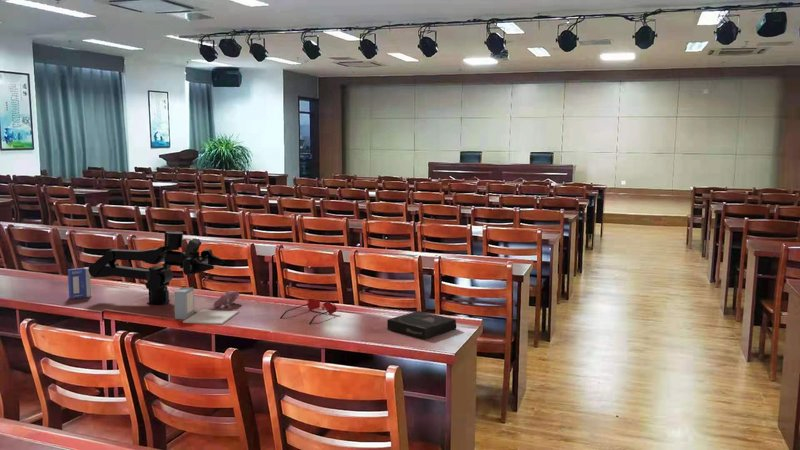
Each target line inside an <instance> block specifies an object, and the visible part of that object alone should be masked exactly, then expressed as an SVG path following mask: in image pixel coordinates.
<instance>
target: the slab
mask: <svg viewBox="0 0 800 450" xmlns="http://www.w3.org/2000/svg"><path fill="white" fill-rule="evenodd" d="M194 289H195V288H194V287H190V286H187V287H186V286H185V287H179V288H177V289H176V290H174V292H173V294H174V297H173V298H174V319H175V320H186V319H188V318H189V317H190V316H193V315H194V314H195V292H194V291H195V290H194Z"/></svg>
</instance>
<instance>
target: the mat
mask: <svg viewBox="0 0 800 450" xmlns="http://www.w3.org/2000/svg"><path fill="white" fill-rule="evenodd" d="M238 313H239V311H238V310H235V311H234V310H212V309H211V310H210V309H200V311H199V310H198V312H196V313H194V315H192V316H191V317H189V318H187V319H183V321H182V323H183V324H201V325H202V324H203V325H204V324H205V325H223V324H224V323H226V322H227V321H229V320H230V319H232V318H234V316H236V315H237V314H238Z"/></svg>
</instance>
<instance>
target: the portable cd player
mask: <svg viewBox="0 0 800 450" xmlns="http://www.w3.org/2000/svg"><path fill="white" fill-rule="evenodd" d="M386 320H387V322H386V324H387V327H386V328H387V329H386V330H387V331H390V332H394V333H398V334H401V335H405V336H409V337H413V338H416V339H421V340H423V341H425V340H426V341H427V340H429V339H431V338H435V337H437V336H441V335H443V334H446V333H449V332H453V331H456V330H457V321H456V319H455V318H452V317H447V316H442V315H438V314H434V313H429V312H424V311H421V310H417V311H415V312H414V311H413V312H409V313H405V314H403V315H399V316H395V317H392V318H388V319H386Z"/></svg>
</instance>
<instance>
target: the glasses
mask: <svg viewBox="0 0 800 450" xmlns="http://www.w3.org/2000/svg"><path fill="white" fill-rule="evenodd" d="M321 302H322V300H321V299H314V298H308V300H307V304H303V305H302V304H301V305H300V306H297V307H294V308H290V309H287V310H286V311H285V312H283V314H282V315H281V316H280V317H279V320H281V319H282V318H283V317H284V316H285V315H286V314H287V313H288V312H289V311H293V310H296V309H298V308H301V307H306V306H307V308H308V310H309V311H312V310H316V309H320V305H321ZM323 302H324V303H322V306H321V309H322V310H323V311H324V310H325V312H321V313H318V314H316V315H314V316H313V317H312V319H311V320H310V321H309V322H308V324H309V325H311V324H312V323H313V321H314V320H315V318H316V317H319V316H321V315H324V314H327V313H328V314H330V315H332V314H334V313H336V312H337V310H338V307H337V306H336V304H335V303H333V302H331V301H328V300H323Z"/></svg>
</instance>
